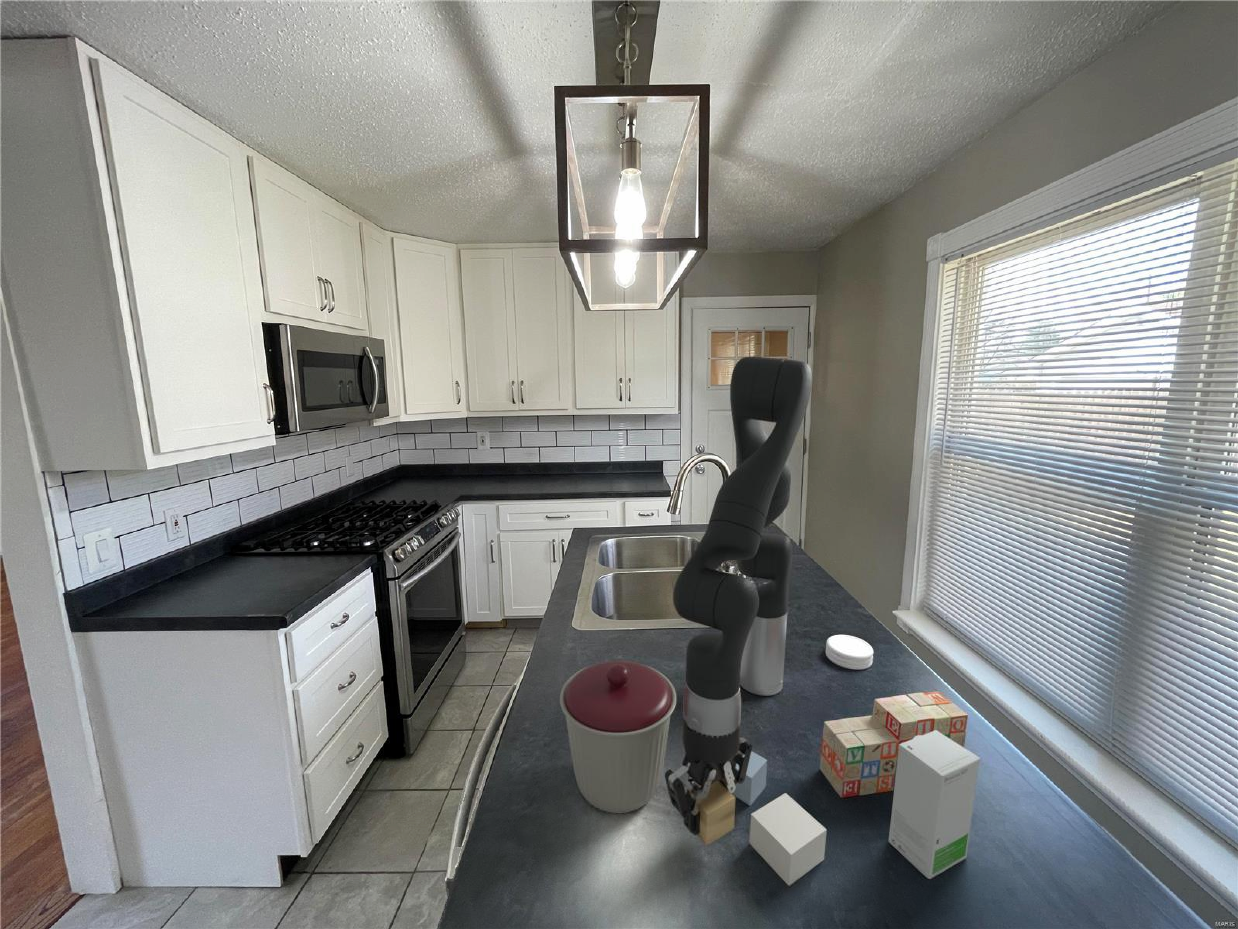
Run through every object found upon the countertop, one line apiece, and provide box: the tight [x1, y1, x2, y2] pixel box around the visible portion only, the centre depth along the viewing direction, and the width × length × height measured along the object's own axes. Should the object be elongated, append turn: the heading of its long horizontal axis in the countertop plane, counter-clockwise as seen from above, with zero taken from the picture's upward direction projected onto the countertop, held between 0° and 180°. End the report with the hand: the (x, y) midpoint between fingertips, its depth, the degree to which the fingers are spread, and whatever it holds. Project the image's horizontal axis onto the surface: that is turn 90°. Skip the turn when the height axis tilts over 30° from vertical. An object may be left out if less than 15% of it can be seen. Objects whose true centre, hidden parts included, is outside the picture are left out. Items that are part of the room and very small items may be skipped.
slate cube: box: [733, 751, 768, 807], centre depth 80 cm, size 5×5×5 cm
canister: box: [559, 659, 677, 814], centre depth 79 cm, size 18×18×21 cm
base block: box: [749, 792, 828, 886], centre depth 69 cm, size 7×7×5 cm
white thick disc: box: [825, 634, 874, 670], centre depth 117 cm, size 10×10×4 cm
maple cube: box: [682, 781, 736, 847], centre depth 69 cm, size 5×5×5 cm
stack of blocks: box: [819, 691, 969, 798], centre depth 82 cm, size 21×6×12 cm, turn 100°
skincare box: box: [887, 730, 981, 880], centre depth 69 cm, size 8×7×16 cm
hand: (708, 819), depth 70 cm, fingers closed on maple cube, 5 cm apart
